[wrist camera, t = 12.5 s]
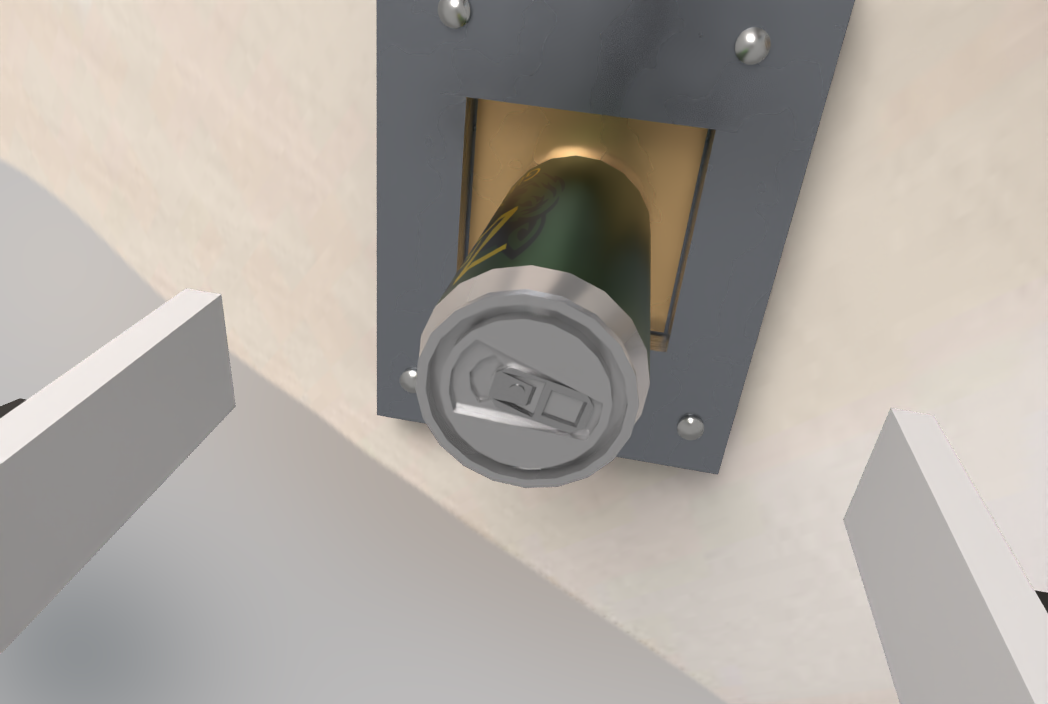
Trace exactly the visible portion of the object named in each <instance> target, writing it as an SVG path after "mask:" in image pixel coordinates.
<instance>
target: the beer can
mask: <svg viewBox="0 0 1048 704" xmlns="http://www.w3.org/2000/svg"><path fill="white" fill-rule="evenodd" d="M650 300H651V231H650V220H649V211H648V209H647V207H646V205H645V202H644V200H643V198H642V196H641V193H640V191H639V190H638V189H637V187H636V186H635V185H634V184H633V183H632V182H631V181H630V180H629V179H628V178H627V177H626V176H625V174H624V173H623V172H621V171H619V170H618V169H616V168H614V167H612V166H610V165H609V164H607V163H605V162H603V161H601V160H597V159H592V158H587V157H582V156H577V155H575V156H568V157H560V158H552V159H550V160H548V161H545V162H543V163H541V164H539V165H537V166H535V167H533V168H531V169H529V170H528V171H527V172H526V173H525V174H524V175H523V176H522V177H521V178H520V179H519V180H518V181H517V182H516V183H515V184H514V185H513V186H512V188H511V189H510V191H509V192H508V194H507V195H506V197H505V199H504V200H503V202H502V203H501V205H500V206H499V208H498V209H497V211H496V213H495V214H494V216H493V217H492V219H491V220H490V222H489V223H488V225H487V227H486V228H485V230H484V231H483V233H482V234H481V236H480V238H479V239H478V241H477V242H476V244H475V245H474V247H473V248H472V250H471V252H470V253H469V255H468V256H467V258H466V259H465V261H464V262H463V264H462V266H461V267H460V269H459V270H458V272H457V273H456V275H455V276H454V278H453V280H452V281H451V283H450V284H449V286H448V287H447V289H446V291H445V292H444V294H443V295H442V297H441V298H440V300H439V301H438V303H437V305H436V306H435V308H434V310H433V312H432V314H431V316H430V318H429V320H428V322H427V324H426V326H425V328H424V330H423V333H422V335H421V341H420V352H419V359H418V365H417V377H416V388H415V390H416V394H417V398H418V401H419V405H420V409H421V413H422V417H423V419H424V421H425V422H426V424H427V426H428V427H429V429H430V430H431V432H432V433H433V435H434V436H435V438H436V440H437V441H438V443H439V444H440V445H441V446H442V447H443V448H444V449H445V450H446V451H447V452H449V453H450V454H451V455H452V456H453V457H454V458H455V459H457V460H458V461H459V462H460V463H461V464H462V465H463V466H465V467H467V468H469V469H471V470H473V471H475V472H477V473H479V474H481V475H483V476H485V477H487V478H489V479H491V480H493V481H497V482H502V483H506V484H511V485H515V486H520V487H524V488H534V487H558V486H562V485H565V484H568V483H571V482H575V481H578V480H581V479H584V478H587V477H589V476H591V475H592V474H594V473H595V472H596V471H598V470H599V469H601V468H602V467H604V466H605V465H607V464H608V463H610V462H611V461H613V460H614V458H615V457H616V456H617V454H618V453H619V451H620V450H621V449H622V447H623V446H624V445H625V443H626V442H627V441H628V439H629V438H630V436H631V434H632V430H633V426H634V424H635V423H636V421H637V420H638V419H639V417H640V416H641V414H642V411H643V407H644V404H645V400H646V396H647V393H648V389H649V386H650Z"/></svg>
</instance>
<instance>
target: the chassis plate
mask: <svg viewBox="0 0 1048 704" xmlns="http://www.w3.org/2000/svg"><path fill="white" fill-rule="evenodd" d="M854 1H855V0H377V415H380V416H386V417H391V418H397V419H403V420H409V421H414V422H420V423H426V422H425V421H424V419H423V417H422V413H421V409H420V405H419V401H418V398H417V394H416V390H415V388H416V377H417V365H418V359H419V352H420V341H421V335H422V333H423V330H424V328H425V326H426V324H427V322H428V320H429V318H430V316H431V314H432V312H433V310H434V308H435V306H436V305H437V303H438V301H439V300H440V298H441V297H442V295H443V294H444V292H445V291H446V289H447V287H448V286H449V284H450V283H451V281H452V280H453V278H454V276H455V275H456V273H457V272H458V270H459V269H460V267H461V266H462V264H463V262H464V261H465V259H466V258H467V256H468V255H469V253H470V252H471V250H472V248H473V247H474V245H475V244H476V242H477V241H478V239H479V238H480V236H481V234H482V233H483V231H484V230H485V228H486V227H487V225H488V223H489V222H490V220H491V219H492V217H493V216H494V214H495V213H496V211H497V209H498V208H499V206H500V205H501V203H502V202H503V200H504V199H505V197H506V195H507V194H508V192H509V191H510V189H511V188H512V186H513V185H514V184H515V183H516V182H517V181H518V180H519V179H520V178H521V177H522V176H523V175H524V174H525V173H526V172H527V171H528V170H529V169H531V168H533V167H535V166H537V165H539V164H541V163H543V162H545V161H548V160H550V159H552V158H560V157H568V156H575V155H577V156H582V157H587V158H592V159H597V160H601V161H603V162H605V163H607V164H609V165H610V166H612V167H614V168H616V169H618V170H619V171H621V172H623V173H624V174H625V176H626V177H627V178H628V179H629V180H630V181H631V182H632V183H633V184H634V185H635V186H636V187H637V189H638V190H639V191H640V193H641V196H642V198H643V200H644V202H645V205H646V207H647V209H648V211H649V220H650V231H651V300H650V386H649V389H648V393H647V396H646V400H645V404H644V407H643V411H642V414H641V416H640V417H639V419H638V420H637V421H636V423H635V424H634V426H633V430H632V434H631V436H630V438H629V439H628V441H627V442H626V443H625V445H624V446H623V447H622V449H621V450H620V451H619V453H618V454H617V456H616V457H621V458H627V459H633V460H638V461H644V462H650V463H656V464H661V465H667V466H673V467H678V468H684V469H690V470H696V471H701V472H707V473H713V474H718V473H719V469H720V466H721V462H722V459H723V455H724V452H725V448H726V445H727V441H728V438H729V434H730V431H731V427H732V424H733V421H734V417H735V414H736V410H737V407H738V403H739V400H740V396H741V393H742V389H743V386H744V382H745V379H746V376H747V372H748V369H749V365H750V362H751V358H752V355H753V351H754V348H755V344H756V341H757V337H758V334H759V330H760V327H761V324H762V320H763V317H764V313H765V310H766V306H767V303H768V299H769V296H770V292H771V289H772V285H773V282H774V279H775V275H776V272H777V268H778V265H779V261H780V258H781V254H782V251H783V247H784V244H785V240H786V237H787V233H788V230H789V227H790V223H791V220H792V216H793V213H794V209H795V206H796V202H797V199H798V195H799V192H800V188H801V185H802V182H803V178H804V175H805V171H806V168H807V164H808V161H809V157H810V154H811V150H812V147H813V143H814V140H815V136H816V133H817V130H818V126H819V123H820V119H821V116H822V112H823V109H824V105H825V102H826V98H827V95H828V91H829V88H830V85H831V81H832V78H833V74H834V71H835V67H836V64H837V60H838V57H839V53H840V50H841V46H842V43H843V39H844V36H845V33H846V29H847V26H848V22H849V19H850V15H851V12H852V8H853V5H854Z"/></svg>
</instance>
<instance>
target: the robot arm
mask: <svg viewBox="0 0 1048 704" xmlns="http://www.w3.org/2000/svg"><path fill="white" fill-rule="evenodd" d="M235 406H236V405H235V398H234V390H233V382H232V374H231V366H230V359H229V351H228V343H227V335H226V327H225V320H224V312H223V304H222V296H221V294H217V293H211V292H205V291H199V290H193V289H187V288H186V289H184V290H183V291H181V292H180V293H178V294H177V295H176V296H174V297H173V298H171V299H170V300H169V301H167V302H166V303H164V304H163V305H161V306H160V307H159V308H157V309H156V310H154V311H153V312H151V313H150V314H149V315H147V316H146V317H144V318H143V319H142V320H140V321H139V322H137V323H136V324H135V325H133V326H131V327H130V328H129V329H127V330H126V331H124V332H123V333H122V334H120V335H119V336H117V337H116V338H114V339H113V340H111V341H110V342H109V343H107V344H106V345H104V346H103V347H102V348H100V349H99V350H97V351H96V352H94V353H93V354H92V355H90V356H89V357H87V358H86V359H84V360H83V361H82V362H80V363H79V364H77V365H76V366H74V367H73V368H72V369H70V370H69V371H67V372H66V373H64V374H63V375H62V376H60V377H59V378H57V379H56V380H55V381H53V382H52V383H50V384H49V385H47V386H46V387H44V388H43V389H42V390H40V391H39V392H37V393H36V394H35V395H33V396H32V397H30V398H29V399H27V400H25V399H17V400H15V401H13V402H10V403H8V404H5V405H3V406H0V654H1V653H2V652H3V651H4V650H5V649H6V648H7V647H8V646H9V645H10V644H11V643H12V642H13V641H14V639H16V637H17V636H18V635H19V634H20V633H21V632H22V631H23V630H24V629H25V628H26V627H27V626H28V625H29V624H30V623H31V622H32V621H33V620H34V618H35V617H36V616H37V615H38V614H39V613H40V612H41V611H42V610H43V609H44V608H45V607H46V606H47V605H48V604H49V603H50V602H51V601H52V600H53V599H54V597H55V596H56V595H57V594H58V593H59V592H60V591H61V590H62V589H63V588H64V587H65V586H66V585H67V584H68V583H69V582H70V580H72V578H73V577H74V576H75V575H76V574H77V573H78V572H79V571H80V570H81V569H82V568H83V567H84V566H85V565H86V564H87V563H88V562H89V561H90V559H91V558H92V557H93V556H94V555H95V554H96V553H97V552H98V551H99V550H100V549H101V548H102V547H103V546H104V545H105V543H107V542H108V540H109V539H110V538H111V537H112V536H113V535H114V534H115V533H116V532H117V531H118V530H119V529H120V527H122V526H123V525H124V523H126V521H127V520H128V519H129V518H130V517H131V516H132V515H133V514H134V513H135V512H136V511H137V510H138V509H139V508H140V507H141V506H142V505H143V503H145V501H146V500H147V499H148V498H149V497H150V496H151V495H152V494H153V493H154V492H155V491H156V490H157V489H158V488H159V487H160V486H161V485H162V484H163V482H164V481H165V480H166V479H167V478H168V477H169V476H170V475H171V474H172V473H173V472H174V471H175V470H176V469H177V468H178V466H180V464H181V463H182V462H183V461H184V460H185V459H186V458H187V457H188V456H189V455H190V454H191V453H192V452H193V451H194V450H195V449H196V448H197V447H198V446H199V444H200V443H201V442H202V441H203V440H204V439H205V438H206V437H207V436H208V435H209V434H210V433H211V432H212V431H213V430H214V429H215V427H217V425H218V424H219V423H220V422H221V421H222V420H223V419H224V418H225V417H226V416H227V415H228V414H229V413H230V412H231V411H232V410H233V409H234V408H235ZM843 520H844V523H845V526H846V530H847V533H848V536H849V539H850V543H851V546H852V549H853V552H854V556H855V559H856V562H857V565H858V568H859V572H860V575H861V578H862V581H863V585H864V588H865V591H866V594H867V598H868V601H869V604H870V607H871V611H872V614H873V617H874V620H875V624H876V627H877V630H878V633H879V637H880V640H881V643H882V646H883V650H884V653H885V656H886V659H887V663H888V666H889V669H890V672H891V676H892V679H893V682H894V685H895V689H896V692H897V695H898V698H899V702H900V704H1048V593H1046V592H1040V591H1035V590H1034V589H1033V587H1032V585H1031V583H1030V582H1029V580H1028V578H1027V576H1026V575H1025V573H1024V571H1023V569H1022V568H1021V566H1020V564H1019V562H1018V561H1017V559H1016V557H1015V555H1014V554H1013V552H1012V550H1011V548H1010V547H1009V545H1008V543H1007V541H1006V540H1005V538H1004V536H1003V534H1002V533H1001V531H1000V529H999V527H998V526H997V524H996V522H995V520H994V519H993V517H992V515H991V513H990V512H989V510H988V508H987V506H986V505H985V503H984V501H983V499H982V498H981V496H980V494H979V492H978V491H977V489H976V487H975V486H974V484H973V482H972V480H971V479H970V477H969V475H968V473H967V472H966V470H965V468H964V466H963V465H962V463H961V461H960V459H959V458H958V456H957V454H956V452H955V451H954V449H953V447H952V445H951V444H950V442H949V440H948V438H947V437H946V435H945V433H944V431H943V430H942V428H941V426H940V424H939V423H938V421H937V419H936V417H935V416H934V415H931V414H925V413H919V412H913V411H907V410H901V409H895V408H891V409H890V411H889V413H888V416H887V418H886V420H885V423H884V425H883V427H882V430H881V432H880V435H879V437H878V439H877V442H876V444H875V446H874V449H873V451H872V453H871V456H870V458H869V460H868V463H867V465H866V467H865V470H864V472H863V475H862V477H861V479H860V482H859V484H858V486H857V489H856V491H855V493H854V496H853V498H852V500H851V503H850V505H849V508H848V510H847V512H846V515H845V517H844V519H843Z"/></svg>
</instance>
